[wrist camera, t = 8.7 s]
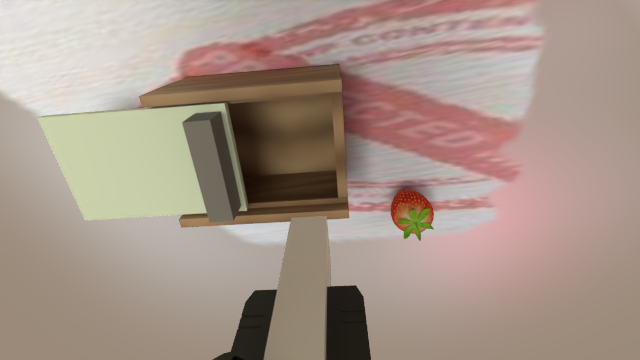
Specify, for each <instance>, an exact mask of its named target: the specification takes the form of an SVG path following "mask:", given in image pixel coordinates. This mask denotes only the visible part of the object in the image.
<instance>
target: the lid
mask: <svg viewBox="0 0 640 360" xmlns="http://www.w3.org/2000/svg"><path fill="white" fill-rule="evenodd" d="M37 119H38V121H39V123H40V125H41V127H42V129H43V132H44V134H45V136H46V138H47V140H48V142H49V144H50V147H51V149H52V151H53V153H54V155H55V157H56V159H57V161H58V164H59V166H60V168H61V170H62V172H63V174H64V176H65V179H66V181H67V183H68V185H69V187H70V189H71V191H72V193H73V196H74V198H75V200H76V202H77V204H78V206H79V208H80V210H81V213H82V215H83V217H84V219H85V220H98V219H114V218H130V217H149V216H166V215H184V214H201V213H207V215H208V219H209V223H210V222H228V221H234V219H235V217H236V215H237V213H238V211H247V210H248V208H249V205H248V201H247V196H246V191H245V186H244V181H243V176H242V172H241V167H240V162H239V157H238V152H237V148H236V143H235V138H234V133H233V128H232V123H231V119H230V114H229V109H228V104H227V101H223V102H210V103H198V104H185V105H173V106H160V107H148V108H135V109H123V110H110V111H97V112H85V113H72V114H60V115H47V116H42V117H39V118H37Z"/></svg>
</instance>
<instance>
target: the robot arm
mask: <svg viewBox="0 0 640 360" xmlns="http://www.w3.org/2000/svg"><path fill="white" fill-rule="evenodd" d="M213 360H371V356H370V348H369V340H368V332H367V324H366V315H365V306H364V298H363V296H362V294H361V293H360V291H359V290H358V288H357V286H334V287H333V286H331V262H330V250H329V238H328V226H327V216H317V217H299V218H291V222H290V227H289V232H288V237H287V242H286V248H285V253H284V258H283V263H282V268H281V273H280V278H279V284H278V288H277V290H256V291H254V292H253V294H252V295H251V296H250V297H249V299H248V300H247V301H246V303H245V306H244V309H243V313H242V318H241V319H240V323H239V327H238V330H237V333H236V336H235V340H234V343H233V346H232V350H231V352H228V353H224V354H222V355H220V356H218V357H217V358H215V359H213Z"/></svg>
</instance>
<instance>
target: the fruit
mask: <svg viewBox="0 0 640 360" xmlns="http://www.w3.org/2000/svg"><path fill="white" fill-rule="evenodd" d="M391 216H392V219H393V222H394V224H395V225H396V226H397V227H398V228H399V229H401V230H403V231H404V239H406V238H408V237H409V235H410V234H411V233H415V234H416V236H417V237H418V239H419V240H420V239H421V234H420V232H422V231H424V230H425V229H433V227H432V226H431V223H432V221H433V216H434V213H433V208H432V206H431V204H430V203H429V201H428V200H427V199H426V198H425V197H424V196H423V195H422V194H420V193H418V192H416V191H413V190H402V191H400V192H398V193H397V194H396V196H395V197H394V199H393V201H392V205H391Z"/></svg>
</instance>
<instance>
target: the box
mask: <svg viewBox="0 0 640 360" xmlns="http://www.w3.org/2000/svg"><path fill="white" fill-rule="evenodd" d="M139 97H140V101H141V104H142V107H160V106H173V105H185V104H198V103H210V102H223V101H227V104H228V109H229V114H230V119H231V123H232V128H233V133H234V138H235V143H236V148H237V152H238V157H239V162H240V167H241V172H242V176H243V181H244V186H245V191H246V196H247V201H248V205H249V208H248V210H247V211H238V213H237V215H236V217H235V219H234V221H228V222H210V223H209V219H208V215H207V213H201V214H184V215H182V216H181V218H180V219H179V222H180V225H181V227H198V226H217V225H235V224H253V223H271V222H289V221H291V218H299V217H317V216H327V219H342V218H349V208H348V194H347V176H346V157H345V139H344V120H343V101H342V78H341V73H340V68H339V64H333V65H321V66H309V67H298V68H286V69H274V70H262V71H251V72H239V73H227V74H215V75H204V76H192V77H186V78H183V79H181V80H178V81H176V82H173V83H171V84H168V85H166V86H163V87H161V88H158V89H156V90H153V91H151V92H148V93H146V94H143V95H141V96H139Z"/></svg>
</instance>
